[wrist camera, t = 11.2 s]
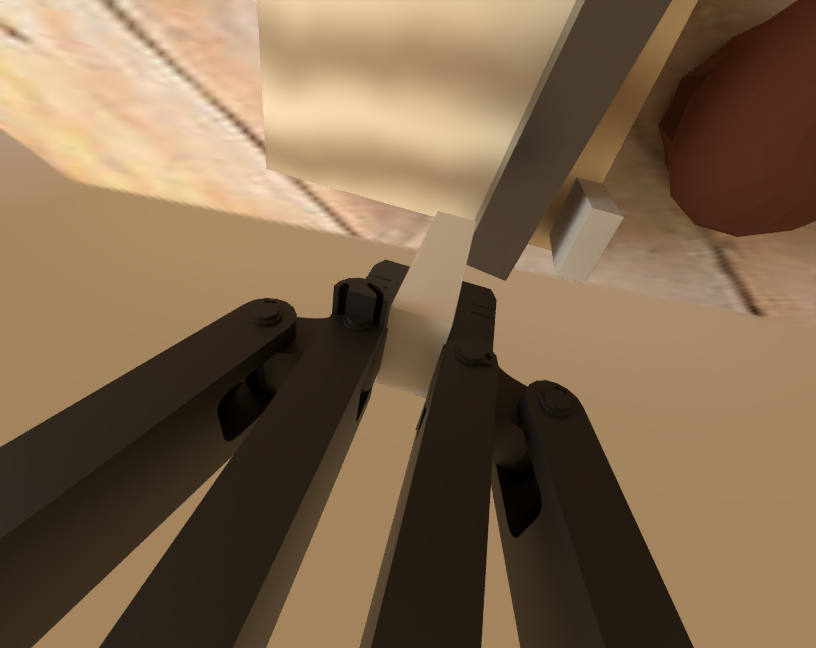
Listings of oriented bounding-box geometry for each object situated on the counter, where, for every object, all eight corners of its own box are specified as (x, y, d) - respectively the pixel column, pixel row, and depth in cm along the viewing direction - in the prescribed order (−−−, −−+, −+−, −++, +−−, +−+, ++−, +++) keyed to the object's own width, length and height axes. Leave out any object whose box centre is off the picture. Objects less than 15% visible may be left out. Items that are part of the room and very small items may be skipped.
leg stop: (576, 177, 22) (592, 207, 18) (602, 183, 22) (624, 216, 18) (549, 235, 25) (556, 275, 20) (571, 241, 25) (584, 284, 20)
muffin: (720, 229, 27) (801, 296, 20) (600, 156, 27) (635, 196, 19) (921, 54, 20) (1179, 51, 12) (765, -55, 19) (935, -134, 11)
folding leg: (648, -173, 14) (696, -259, 10) (730, -139, 14) (809, -211, 10) (465, 229, 26) (455, 260, 22) (511, 248, 26) (510, 282, 22)
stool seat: (305, -178, 21) (243, -247, 16) (710, -94, 19) (773, -144, 14) (303, 153, 32) (266, 169, 27) (557, 224, 30) (565, 254, 25)
